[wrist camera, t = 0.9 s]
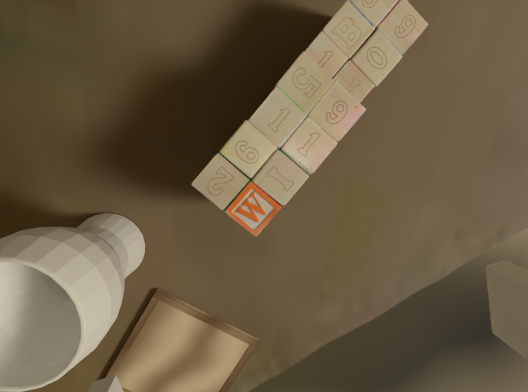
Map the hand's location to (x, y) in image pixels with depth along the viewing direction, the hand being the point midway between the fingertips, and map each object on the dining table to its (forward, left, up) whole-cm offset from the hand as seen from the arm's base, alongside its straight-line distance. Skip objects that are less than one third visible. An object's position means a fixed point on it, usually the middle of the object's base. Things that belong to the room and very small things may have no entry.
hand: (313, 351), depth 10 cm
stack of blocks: (-3, +10, -25) cm, 27 cm away
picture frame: (+1, -22, -24) cm, 33 cm away
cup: (-13, -13, -24) cm, 30 cm away
